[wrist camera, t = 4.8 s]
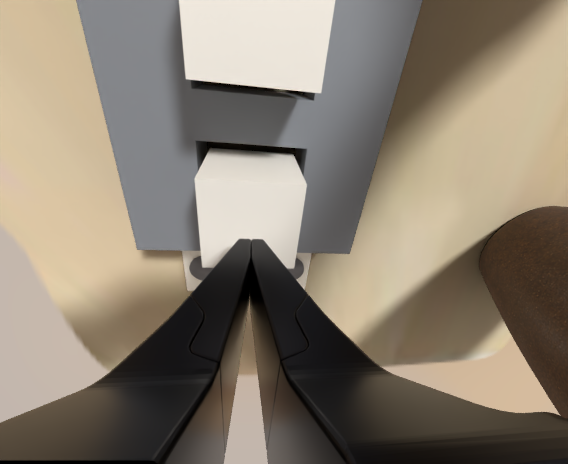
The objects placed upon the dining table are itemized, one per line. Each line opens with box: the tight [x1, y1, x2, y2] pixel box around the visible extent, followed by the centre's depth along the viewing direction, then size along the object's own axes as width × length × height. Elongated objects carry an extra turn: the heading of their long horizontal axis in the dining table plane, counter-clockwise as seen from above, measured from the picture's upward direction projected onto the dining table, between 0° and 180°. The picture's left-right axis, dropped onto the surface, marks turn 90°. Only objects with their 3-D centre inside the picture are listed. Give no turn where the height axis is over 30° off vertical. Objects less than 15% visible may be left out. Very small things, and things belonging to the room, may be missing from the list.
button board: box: [76, 0, 423, 254], centre depth 11 cm, size 12×21×3 cm, turn 174°
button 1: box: [195, 148, 307, 269], centre depth 12 cm, size 4×4×4 cm
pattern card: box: [182, 251, 312, 291], centre depth 19 cm, size 9×5×1 cm, turn 84°
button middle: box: [179, 0, 335, 93], centre depth 8 cm, size 4×4×4 cm
